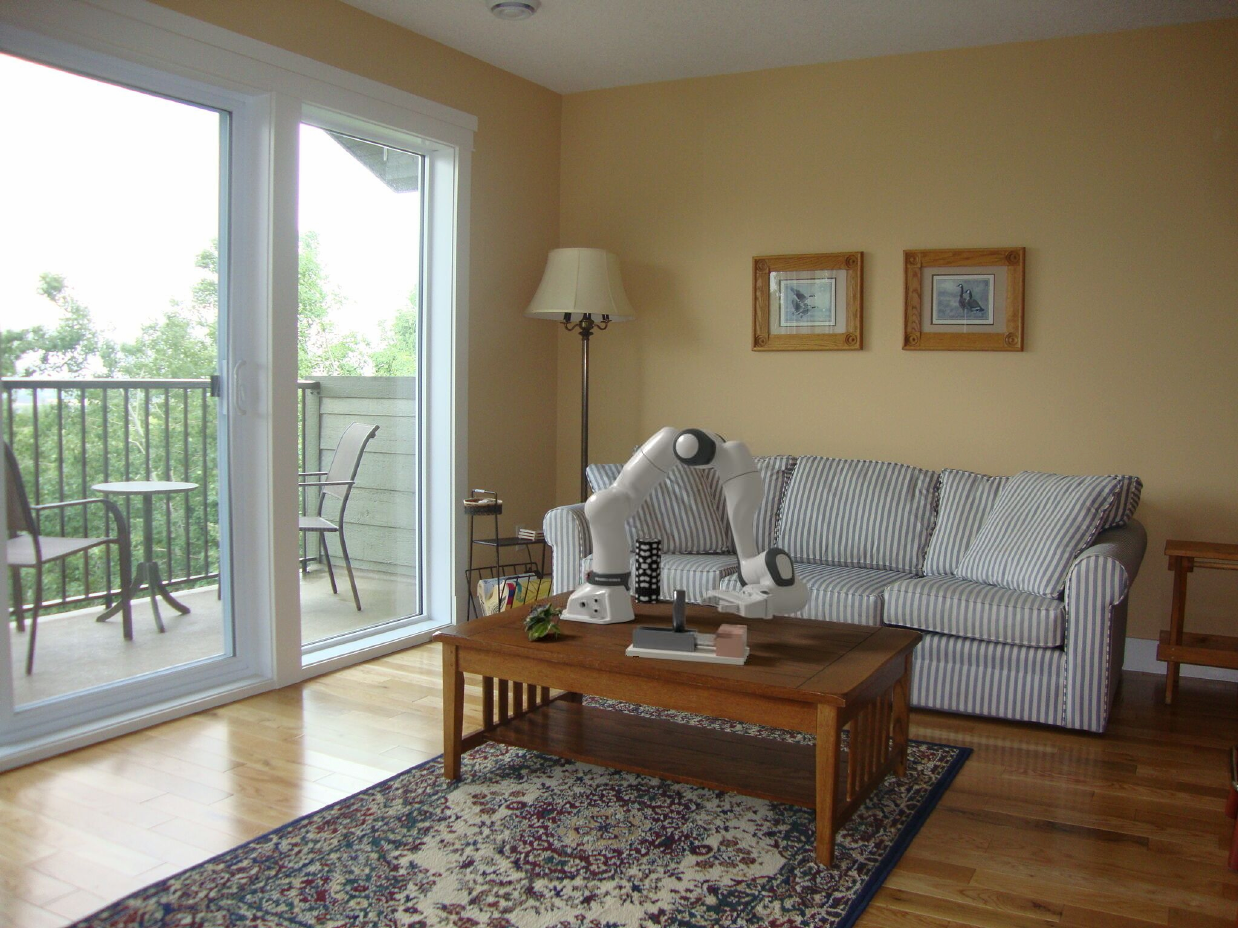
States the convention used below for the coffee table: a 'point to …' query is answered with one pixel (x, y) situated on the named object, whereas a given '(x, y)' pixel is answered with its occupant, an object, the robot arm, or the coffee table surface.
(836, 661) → the coffee table surface
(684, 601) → the slide bolt
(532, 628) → the passion flower
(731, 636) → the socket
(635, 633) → the grey guide channel
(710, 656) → the base board
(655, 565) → the white-spotted black cylinder
